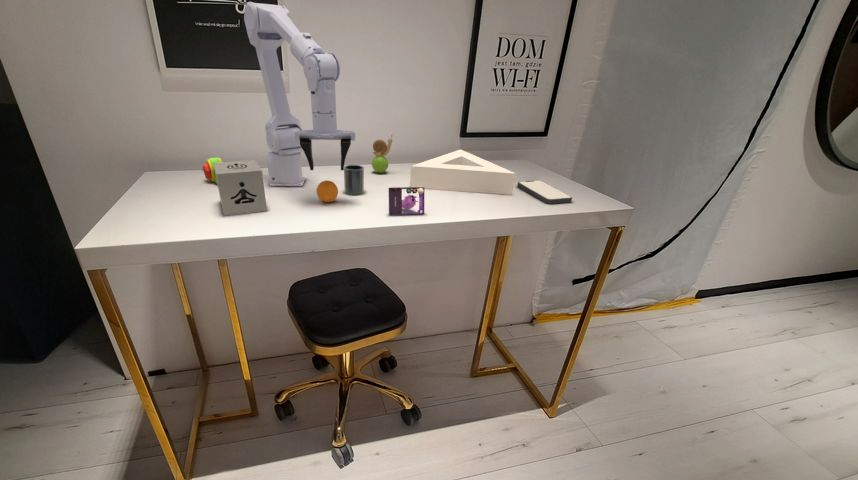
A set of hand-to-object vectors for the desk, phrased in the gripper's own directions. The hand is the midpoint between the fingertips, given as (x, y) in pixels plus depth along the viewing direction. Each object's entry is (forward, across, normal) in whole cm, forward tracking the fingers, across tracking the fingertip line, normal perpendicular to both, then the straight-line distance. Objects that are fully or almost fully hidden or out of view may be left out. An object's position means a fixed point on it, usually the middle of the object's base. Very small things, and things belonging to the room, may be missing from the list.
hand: (327, 169), depth 100 cm
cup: (+8, +7, +8) cm, 13 cm away
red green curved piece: (+8, -35, +21) cm, 41 cm away
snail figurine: (+8, +16, +28) cm, 33 cm away
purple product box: (+9, +20, -7) cm, 23 cm away
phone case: (+9, +63, +7) cm, 64 cm away
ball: (+9, 0, 0) cm, 9 cm away
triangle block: (+9, +36, +16) cm, 41 cm away
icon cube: (+9, -21, -4) cm, 23 cm away
